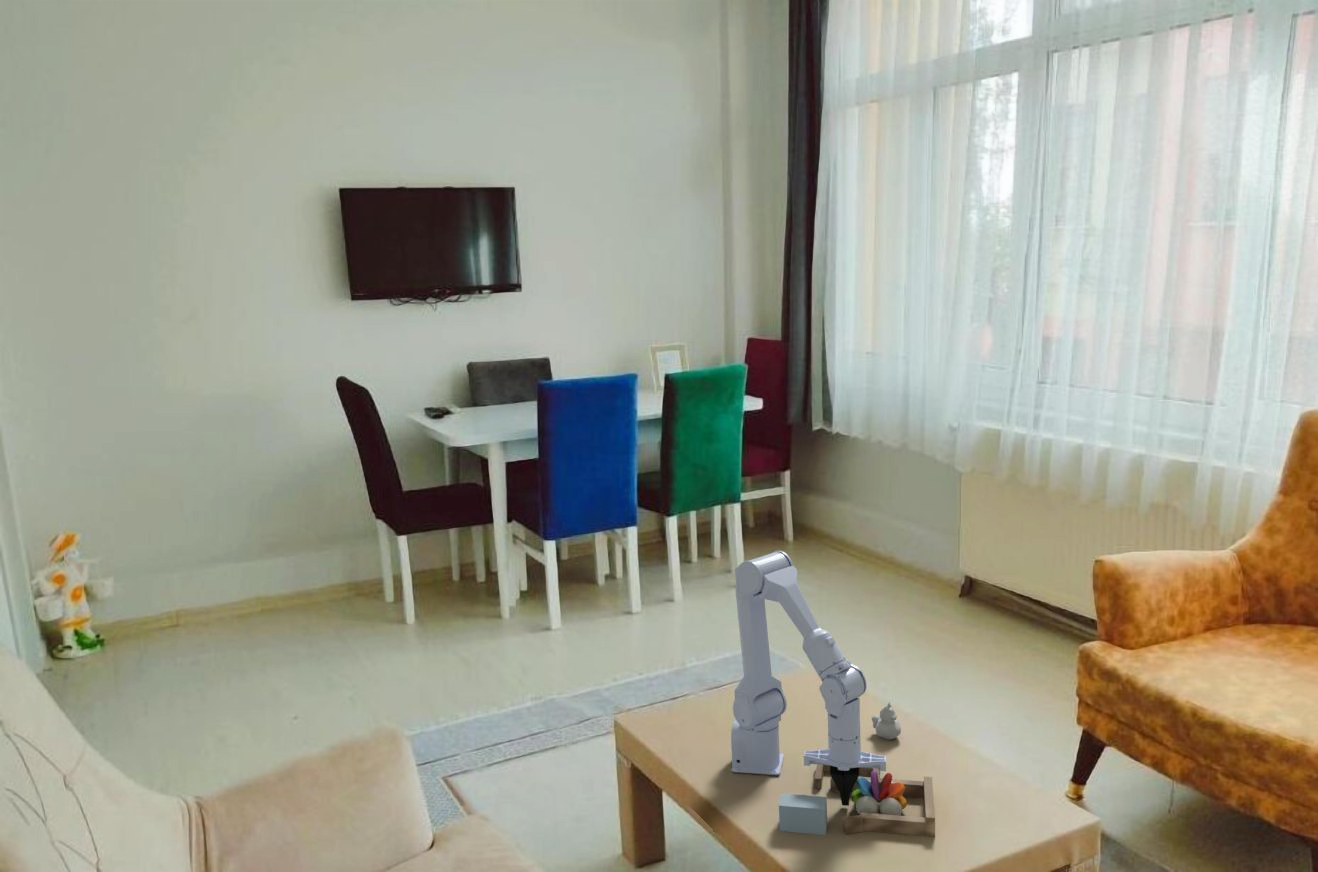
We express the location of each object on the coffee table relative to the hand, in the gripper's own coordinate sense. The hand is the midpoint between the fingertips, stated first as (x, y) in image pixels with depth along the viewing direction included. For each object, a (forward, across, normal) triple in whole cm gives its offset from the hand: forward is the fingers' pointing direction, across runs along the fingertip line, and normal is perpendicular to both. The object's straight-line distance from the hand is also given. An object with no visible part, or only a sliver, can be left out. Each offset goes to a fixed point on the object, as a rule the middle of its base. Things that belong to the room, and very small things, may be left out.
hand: (845, 802), depth 176 cm
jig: (+1, +5, +2) cm, 5 cm away
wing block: (+1, -7, -7) cm, 10 cm away
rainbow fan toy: (+1, +6, 0) cm, 6 cm away
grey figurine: (+1, +7, +28) cm, 29 cm away
